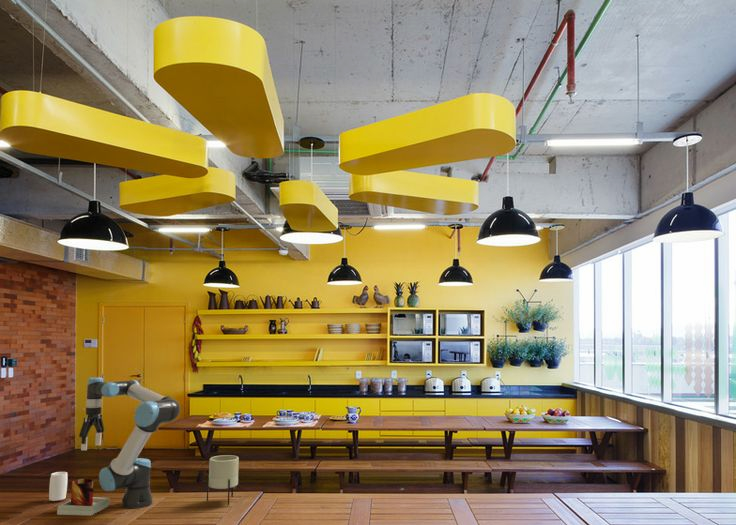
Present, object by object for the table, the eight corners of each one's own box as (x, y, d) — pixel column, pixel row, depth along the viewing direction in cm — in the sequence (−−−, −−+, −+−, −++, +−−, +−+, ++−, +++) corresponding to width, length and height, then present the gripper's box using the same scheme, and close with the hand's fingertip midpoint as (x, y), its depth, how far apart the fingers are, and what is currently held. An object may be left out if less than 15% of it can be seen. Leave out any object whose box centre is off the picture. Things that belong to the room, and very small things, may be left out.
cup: (44, 502, 298) (46, 474, 299) (55, 498, 306) (57, 471, 308) (58, 503, 296) (60, 475, 298) (69, 499, 304) (71, 471, 306)
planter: (243, 500, 304) (245, 456, 307) (225, 508, 290) (226, 462, 293) (221, 497, 310) (222, 453, 313) (201, 504, 296) (203, 459, 299)
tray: (109, 505, 293) (109, 497, 293) (92, 515, 277) (92, 507, 278) (75, 504, 294) (76, 496, 295) (57, 514, 278) (57, 506, 279)
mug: (91, 509, 280) (92, 484, 282) (66, 508, 282) (67, 483, 284) (103, 503, 289) (104, 479, 291) (78, 502, 292) (80, 478, 293)
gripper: (99, 403, 315) (96, 443, 312) (73, 409, 290) (70, 452, 287) (112, 404, 314) (110, 443, 312) (87, 409, 290) (84, 452, 287)
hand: (91, 447), depth 300 cm, fingers open, 13 cm apart
